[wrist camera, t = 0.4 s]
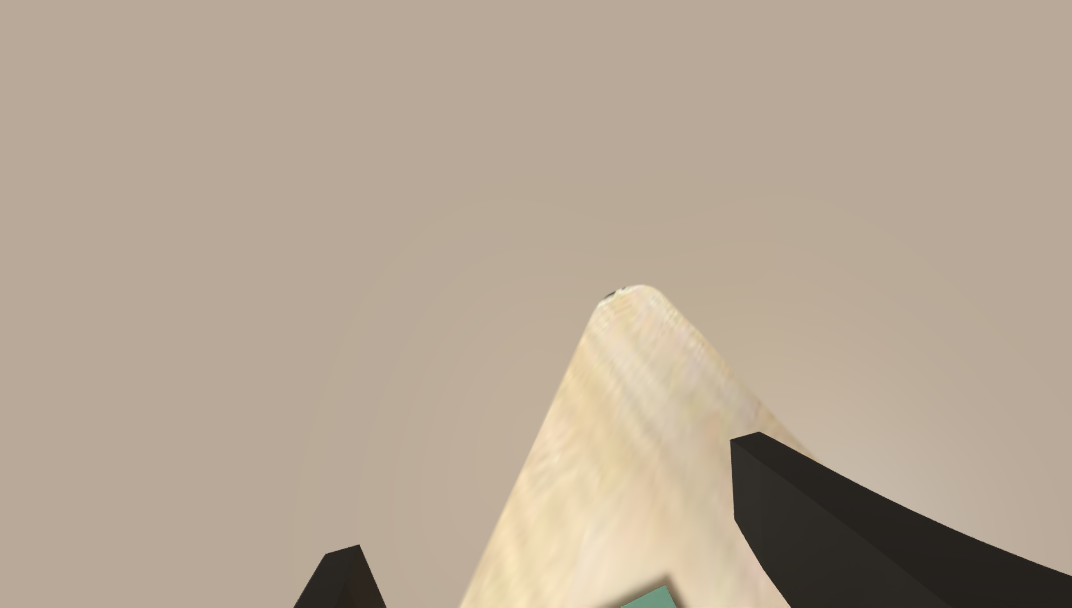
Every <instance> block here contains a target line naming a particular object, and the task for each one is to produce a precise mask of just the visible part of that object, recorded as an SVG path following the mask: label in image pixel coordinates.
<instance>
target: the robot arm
mask: <svg viewBox="0 0 1072 608" xmlns="http://www.w3.org/2000/svg"><path fill="white" fill-rule="evenodd" d="M730 446H731V464H732V483H733V501H734V519H735V521H736V523H737V525H738V526H739V528H740V530H741V532H742V534H743V535H744V537H745V539H746V541H747V542H748V544H749V546H750V548H751V549H752V551H753V553H754V554H755V556H756V558H757V560H758V561H759V563H760V565H761V566H762V568H763V570H764V571H765V572H766V574H767V575H768V577H769V578H770V579H771V581H772V582H773V583H774V585H775V586H776V588H777V589H778V590H779V592H780V593H781V594H782V596H783V597H784V599H785V600H786V601H787V603H788V604H789V605H790V607H791V608H1072V576H1070V575H1067V574H1064V573H1062V572H1059V571H1056V570H1053V569H1051V568H1048V567H1045V566H1042V565H1040V564H1037V563H1035V562H1032V561H1029V560H1027V559H1024V558H1022V557H1019V556H1017V555H1014V554H1012V553H1009V552H1007V551H1004V550H1002V549H999V548H997V547H994V546H992V545H989V544H986V543H984V542H982V541H979V540H977V539H975V538H972V537H970V536H967V535H965V534H963V533H961V532H958V531H956V530H954V529H951V528H949V527H947V526H945V525H943V524H940V523H938V522H936V521H934V520H932V519H930V518H927V517H925V516H923V515H921V514H918V513H916V512H914V511H912V510H910V509H908V508H906V507H903V506H902V505H899V504H897V503H895V502H893V501H891V500H889V499H887V498H885V497H883V496H881V495H879V494H877V493H875V492H873V491H871V490H869V489H867V488H865V487H863V486H861V485H859V484H857V483H855V482H853V481H851V480H850V479H848V478H846V477H844V476H842V475H840V474H838V473H836V472H834V471H832V470H831V469H829V468H827V467H825V466H823V465H821V464H819V463H817V462H816V461H814V460H812V459H810V458H808V457H806V456H804V455H803V454H801V453H799V452H797V451H795V450H793V449H792V448H790V447H788V446H786V445H784V444H782V443H780V442H779V441H777V440H775V439H773V438H771V437H769V436H767V435H765V434H763V433H761V432H756V433H753V434H749V435H746V436H742V437H738V438H735V439H731V440H730ZM294 608H386V605H385V603H384V601H383V599H382V596H381V594H380V592H379V589H378V587H377V584H376V582H375V580H374V577H373V575H372V573H371V570H370V568H369V566H368V563H367V561H366V559H365V557H364V554H363V552H362V550H361V547H360V545H356V546H352V547H348V548H345V549H341V550H338V551H335V552H331V553H328V554H325V556H324V557H323V559H322V560H321V562H320V564H319V565H318V567H317V569H316V570H315V572H314V574H313V575H312V577H311V579H310V580H309V582H308V584H307V585H306V587H305V589H304V591H303V592H302V594H301V596H300V598H299V599H298V601H297V602H296V604H295V606H294Z"/></svg>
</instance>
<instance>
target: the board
mask: <svg viewBox="0 0 1072 608" xmlns="http://www.w3.org/2000/svg"><path fill="white" fill-rule="evenodd" d="M620 608H677V607H676V605H675V603H674V601H673V599H672V597H671V595H670V593H669V591H668V589H667V587H666V585H663V586H661V587H659V588H657V589H655V590H653V591H652V592H650V593H648V594H646V595H644V596H642V597H640V598H638V599H636V600H634V601H632V602H630V603H628V604H626V605H624V606H622V607H620Z"/></svg>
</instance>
